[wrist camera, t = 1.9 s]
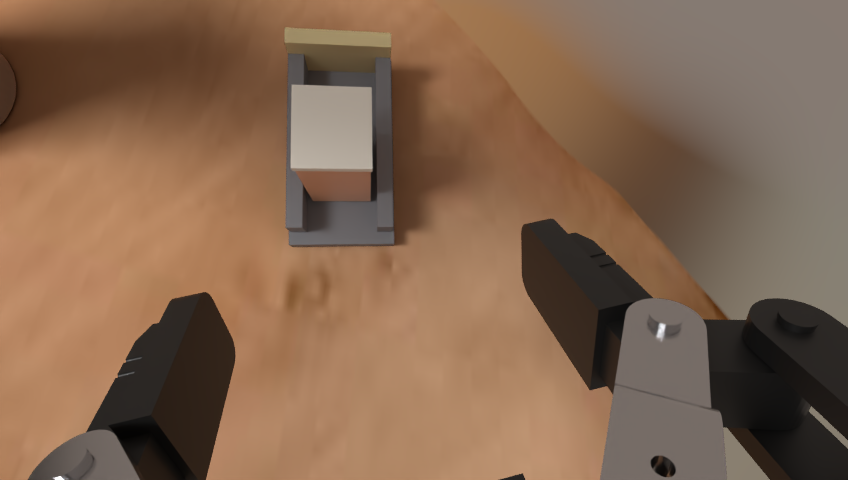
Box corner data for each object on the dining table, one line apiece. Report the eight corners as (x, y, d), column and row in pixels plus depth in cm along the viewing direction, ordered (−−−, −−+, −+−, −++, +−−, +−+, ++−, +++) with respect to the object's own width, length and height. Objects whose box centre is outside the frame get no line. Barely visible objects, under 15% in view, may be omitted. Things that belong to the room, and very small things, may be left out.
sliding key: (371, 202, 36) (372, 169, 26) (311, 202, 35) (290, 168, 26) (371, 141, 36) (371, 87, 27) (312, 140, 36) (291, 84, 26)
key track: (393, 245, 37) (397, 237, 32) (292, 246, 36) (278, 238, 31) (390, 69, 39) (393, 33, 34) (294, 65, 38) (281, 27, 33)
